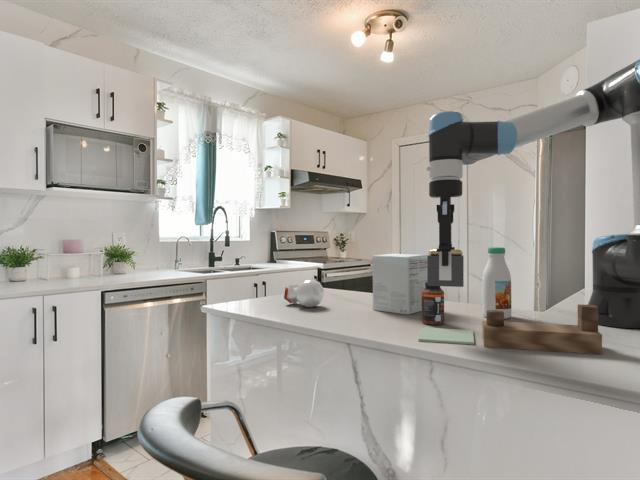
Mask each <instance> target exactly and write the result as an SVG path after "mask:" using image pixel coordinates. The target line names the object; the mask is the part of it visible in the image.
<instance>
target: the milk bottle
mask: <svg viewBox="0 0 640 480" xmlns="http://www.w3.org/2000/svg"><path fill="white" fill-rule="evenodd" d="M487 253H488V254H487V255H488V260H487V263H486V265H485V268H484V269H483V272H482V280H481V281H482V285H481V290H482V291H481V293H482V296H481V297H482V298H481V299H482V302H481V303H482V304H481V305H482V307H481V308H482V311H481V312H482V316H483V317H485V318H487V310H500V311H503V312H504V320H505V319H506V320H507V319H510V318H511V317H512V277H511V276H512V275H511V271H510V268H509V266H508V265H507V262H506V259H505V256H506V248H505V247H500V246H493V247H492V246H491V247H488V248H487Z"/></svg>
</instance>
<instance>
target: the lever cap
mask: <svg viewBox="0 0 640 480" xmlns="http://www.w3.org/2000/svg"><path fill="white" fill-rule="evenodd" d="M436 249H437V248H434V249H430V250H429V252H428V254H427V255H428V256H427V286H440V287H457V288H464V287H465V286H464V277H465V276H464V274H465V273H464V272H465V271H464V269H465V267H464V258H465V257H464V255H463V251H462V250H461V249H455V250H451V280H439V252H436Z"/></svg>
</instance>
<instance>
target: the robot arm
mask: <svg viewBox="0 0 640 480" xmlns="http://www.w3.org/2000/svg"><path fill="white" fill-rule="evenodd" d="M619 119H622V121H623V122H625V123H626V124H627V125H629V128H630V148H631V172H632V177H631V178H632V198H633V200H632V202H633V204H632V205H633V220H634V221H633V227H632V228H630V230H628V232H627V233H622V234H620V233H619V234H610V235H609V234H608V235H603V236H598V237H596V238H595V239H594V240H593V242H592V249H591V254H592V293H591V296H590V298H589V300H588V303H587V305H595V306H596V307H598V325H599V326H600V325H601V326H607V327H613V328H621V329H623V328H624V329H640V58H639V59H637V60H635V61H634V62H632V63H631V64H629V65H626V66H624V67H623V68H621V69H619V70H618V71H615V72H614V73H612V74H610V75H608V76H607V77H606V78H604V79H603V80H601V81H599V82H597V83H596V84H593V85H591V86H590V87H587V88H585V89H581V90H580V91H577V93H575V95H574V96H573V97H571V98H567V99H565V100H562V101H560V102H559V101H558V102H556V103H553V104H550V105H548V106H545V107H542V108H540V109H539V108H538V109H536V110H533V111H531V112H528V113H524V114H522V115H519V116H517V117H513V118H510V119H509V120H508V119H507V120H505V121H502V120H501V121H500V120H498V121H464V118H463V114H462V113H461V112H459V111H453V110H452V111H450V110H449V111H448V110H447V111H441V112H437V113H435V114H433V115H432V116H431V117H430V118H429V126H428V128H429V129H428V134H427V135H428V151H429V152H428V153H429V154H428V155H429V156H428V157H429V159H428V160H429V166H427V167H426V171H428V172H429V173H428V175H429V176H428V177H429V178H428V179H430V180H431V181H429V184H428V195H429V197H430V198H433V199H434V198H435V199H437V198H439V204H436V212H437V222H438V223H437V224H438V225H439V226H438V243H439V244H438V248H435V249H436V252H439V280H451V250H456V249H455V246H453V243H452V224H453V223H454V213H455V204H452V202H451V201H452V198H458V197H459V198H460V197H462V196H463V181H462V180H461V179H462V178H463V176H464V175H463V171H464V170H463V165H465V166H466V165H473V164H475V163H477V162H479V161H482V160H484V159H487V158H491V157H492V156H495V155H498V156H500V155H509V154H511V153H512V152H513V151H514V149H517V148H519V147H521V146H525V145H528V144H530V143H533V142H536V141H539V140H543V139H545V138H547V137H548V138H549V137H550V136H553V135H556V134H561V133H563V132H566V131H569V130H570V129H574V128H577V127H581V126H583V127H592V126H594V125H598V124H601V123H605V122H609V121H614V120H619Z"/></svg>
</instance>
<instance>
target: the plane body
mask: <svg viewBox="0 0 640 480" xmlns="http://www.w3.org/2000/svg"><path fill="white" fill-rule="evenodd" d="M482 342H483V346H484V348H485V347H486V348H487V347H488V348H497V349H499V348H500V349H502V348H503V349H513V350H514V349H515V350H516V349H517V350H530V351H544V352H556V351H558V352H559V351H560V352H559V353H571V352H577V353H576V354H586V353H590V355H601V354H602V355H603V334H602V333H600V332H599V324H598V307H596V306H595V305H588V304H577V324H562V323H561V324H557V323H539V322H537V323H536V322H519V321H505V319H504V312H503V311H500V310H487V317H486V320H482ZM558 352H557V353H558ZM591 353H592V354H591Z"/></svg>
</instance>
